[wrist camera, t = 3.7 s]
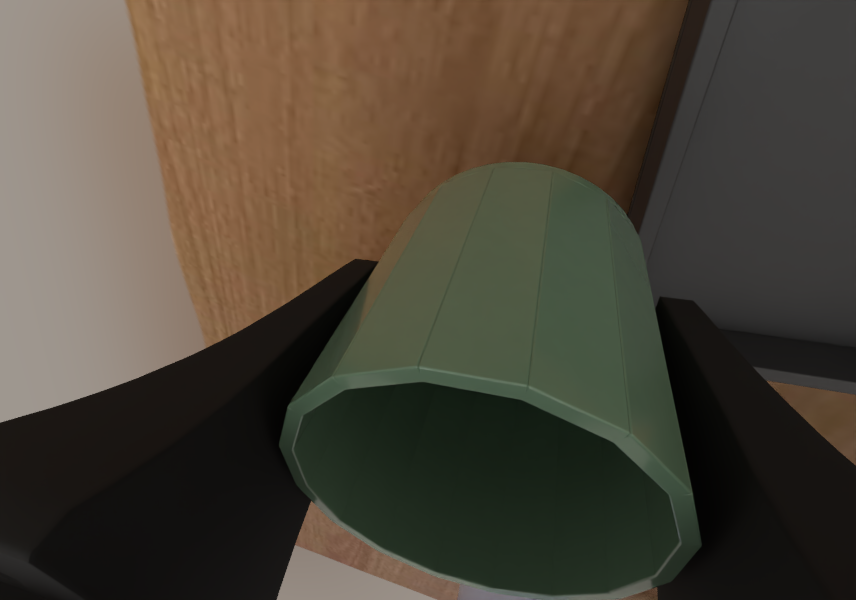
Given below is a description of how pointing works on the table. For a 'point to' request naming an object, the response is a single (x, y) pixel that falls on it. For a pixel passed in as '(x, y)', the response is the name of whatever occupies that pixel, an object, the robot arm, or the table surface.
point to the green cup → (504, 398)
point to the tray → (760, 183)
